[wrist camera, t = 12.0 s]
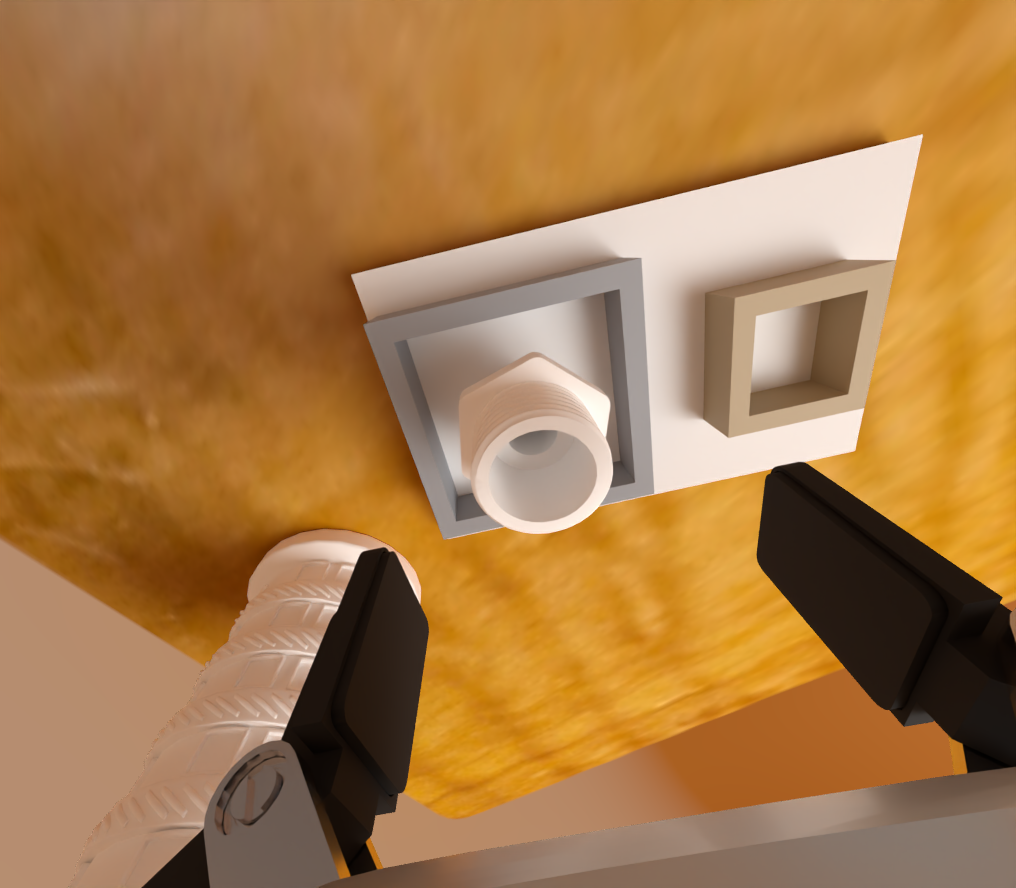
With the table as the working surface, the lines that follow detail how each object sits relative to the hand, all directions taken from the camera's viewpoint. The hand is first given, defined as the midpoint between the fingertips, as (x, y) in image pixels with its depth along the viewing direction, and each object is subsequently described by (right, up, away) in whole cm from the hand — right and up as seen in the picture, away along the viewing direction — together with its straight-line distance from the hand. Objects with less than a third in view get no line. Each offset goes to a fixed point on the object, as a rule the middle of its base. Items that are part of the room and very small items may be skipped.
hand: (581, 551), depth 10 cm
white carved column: (-14, -8, +19) cm, 25 cm away
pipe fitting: (-1, +5, +11) cm, 13 cm away
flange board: (+5, +7, +12) cm, 15 cm away
